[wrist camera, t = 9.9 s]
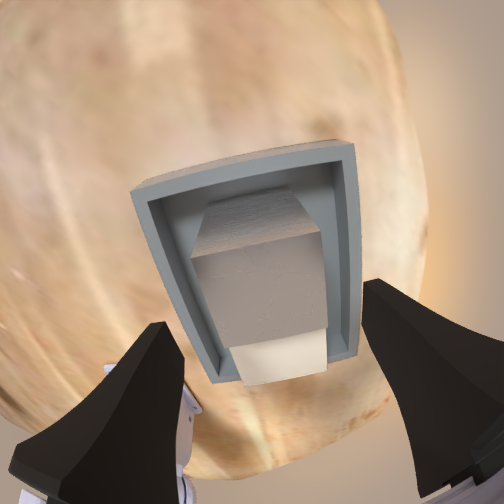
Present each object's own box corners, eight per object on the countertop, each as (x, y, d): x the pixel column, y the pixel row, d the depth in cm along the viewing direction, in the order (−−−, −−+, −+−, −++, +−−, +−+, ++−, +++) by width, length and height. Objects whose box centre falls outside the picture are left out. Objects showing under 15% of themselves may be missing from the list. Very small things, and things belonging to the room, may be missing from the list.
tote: (346, 331, 23) (357, 355, 20) (213, 357, 23) (212, 383, 21) (335, 139, 15) (353, 143, 13) (146, 179, 16) (129, 191, 13)
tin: (298, 256, 18) (328, 327, 12) (227, 270, 18) (224, 348, 12) (287, 185, 16) (320, 230, 10) (208, 202, 16) (190, 258, 10)
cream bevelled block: (315, 333, 21) (327, 370, 18) (243, 348, 22) (244, 386, 18) (310, 284, 19) (325, 321, 16) (227, 301, 19) (226, 340, 16)
